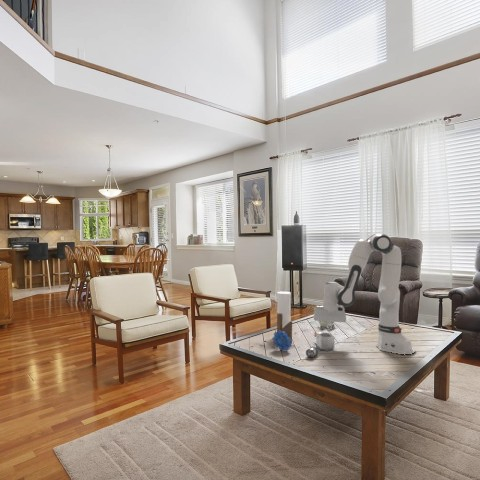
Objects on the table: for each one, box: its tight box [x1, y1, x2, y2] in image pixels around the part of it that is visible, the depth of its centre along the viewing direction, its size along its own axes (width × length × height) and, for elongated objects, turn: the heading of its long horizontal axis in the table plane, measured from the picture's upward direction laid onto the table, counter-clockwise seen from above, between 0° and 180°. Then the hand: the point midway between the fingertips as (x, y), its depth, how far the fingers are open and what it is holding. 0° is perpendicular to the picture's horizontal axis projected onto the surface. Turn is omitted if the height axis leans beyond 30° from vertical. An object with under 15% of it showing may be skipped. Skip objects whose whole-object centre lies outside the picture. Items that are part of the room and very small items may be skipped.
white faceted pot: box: [316, 332, 335, 352], centre depth 217 cm, size 10×10×9 cm
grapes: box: [272, 330, 292, 351], centre depth 212 cm, size 12×7×12 cm, turn 66°
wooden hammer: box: [276, 312, 293, 344], centre depth 230 cm, size 4×11×18 cm, turn 48°
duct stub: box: [305, 346, 319, 359], centre depth 202 cm, size 6×5×5 cm
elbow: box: [314, 330, 336, 349], centre depth 222 cm, size 18×8×7 cm, turn 8°
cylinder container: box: [276, 291, 292, 333], centre depth 247 cm, size 9×9×30 cm
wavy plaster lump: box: [317, 321, 331, 328], centre depth 272 cm, size 18×13×16 cm
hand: (329, 328), depth 225 cm, fingers closed
